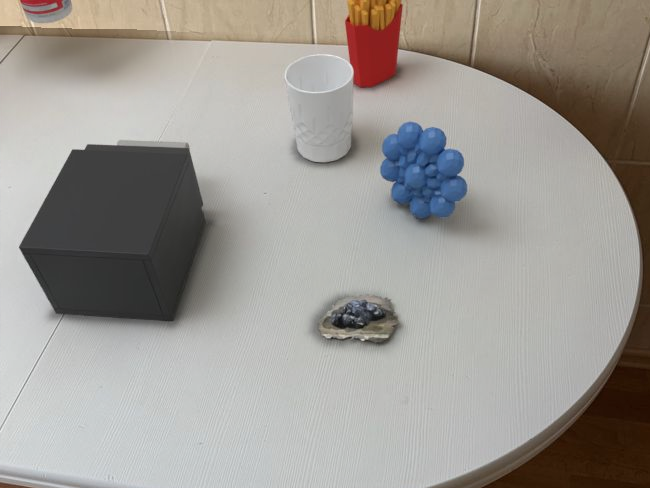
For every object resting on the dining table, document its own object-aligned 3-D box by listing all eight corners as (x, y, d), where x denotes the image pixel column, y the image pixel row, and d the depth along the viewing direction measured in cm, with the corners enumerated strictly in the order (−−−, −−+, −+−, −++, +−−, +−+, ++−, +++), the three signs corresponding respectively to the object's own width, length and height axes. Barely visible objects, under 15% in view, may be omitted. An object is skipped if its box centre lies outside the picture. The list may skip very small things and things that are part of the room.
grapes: (484, 220, 78) (499, 128, 69) (444, 251, 76) (453, 160, 66) (407, 173, 84) (411, 82, 74) (367, 201, 81) (366, 110, 71)
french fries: (360, 93, 94) (358, 4, 85) (342, 80, 96) (338, -8, 87) (408, 69, 97) (411, -20, 87) (389, 57, 99) (391, -31, 89)
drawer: (119, 176, 85) (99, 120, 78) (211, 180, 83) (198, 123, 77) (68, 285, 74) (40, 230, 68) (173, 291, 73) (154, 236, 67)
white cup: (360, 129, 89) (358, 55, 81) (350, 168, 85) (347, 94, 77) (299, 125, 90) (292, 52, 83) (286, 163, 86) (277, 90, 78)
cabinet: (100, 217, 82) (72, 148, 74) (206, 222, 80) (188, 153, 73) (55, 313, 73) (18, 247, 65) (173, 321, 72) (148, 254, 64)
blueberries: (405, 341, 69) (405, 329, 67) (324, 357, 68) (323, 345, 66) (387, 291, 73) (387, 278, 71) (311, 306, 72) (309, 293, 70)
